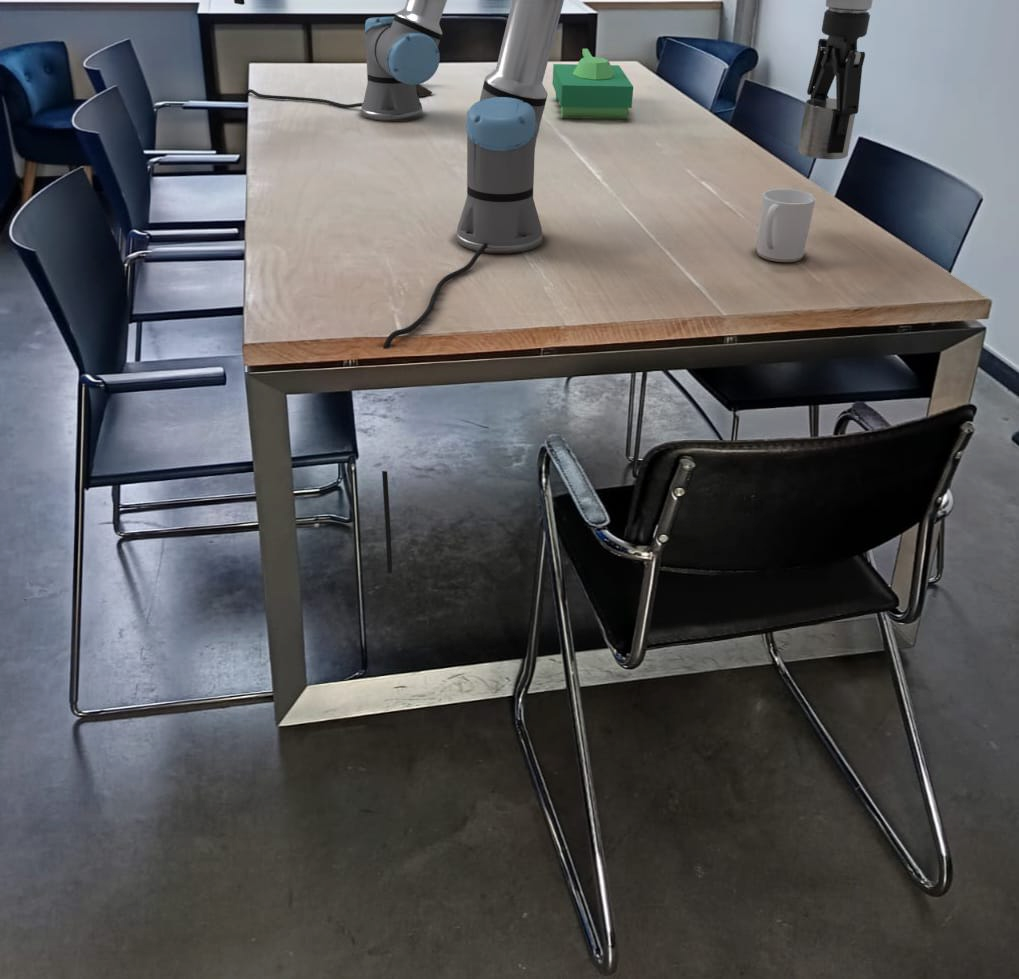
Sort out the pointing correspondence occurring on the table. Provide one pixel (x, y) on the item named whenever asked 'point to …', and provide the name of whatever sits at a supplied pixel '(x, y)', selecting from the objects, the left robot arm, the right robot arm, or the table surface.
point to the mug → (784, 224)
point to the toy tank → (592, 89)
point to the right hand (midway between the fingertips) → (823, 145)
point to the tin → (821, 129)
